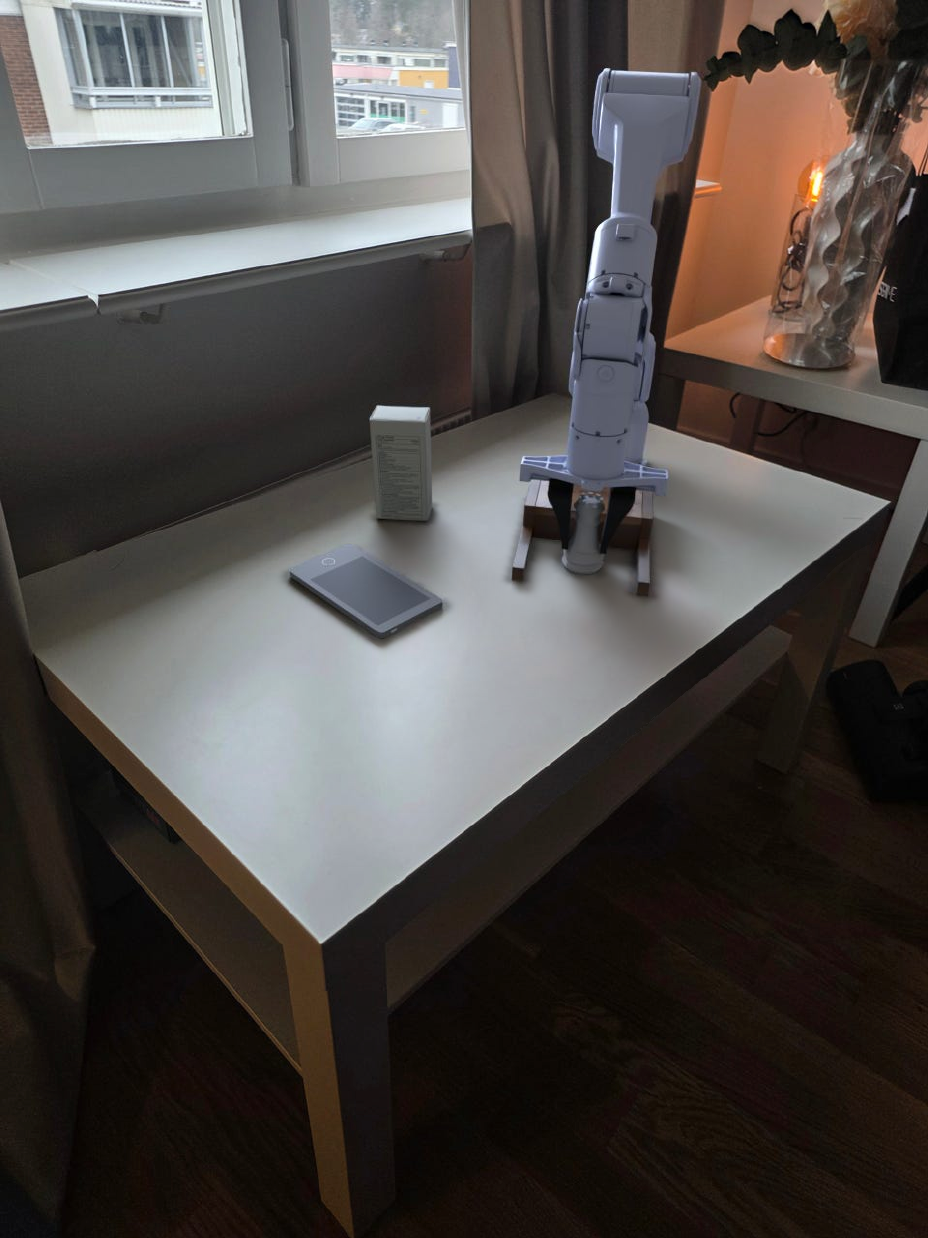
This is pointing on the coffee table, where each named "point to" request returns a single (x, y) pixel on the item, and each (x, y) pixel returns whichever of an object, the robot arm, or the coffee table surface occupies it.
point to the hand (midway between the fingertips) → (583, 547)
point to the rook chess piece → (585, 536)
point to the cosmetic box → (402, 462)
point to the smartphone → (366, 590)
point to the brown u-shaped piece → (628, 534)
